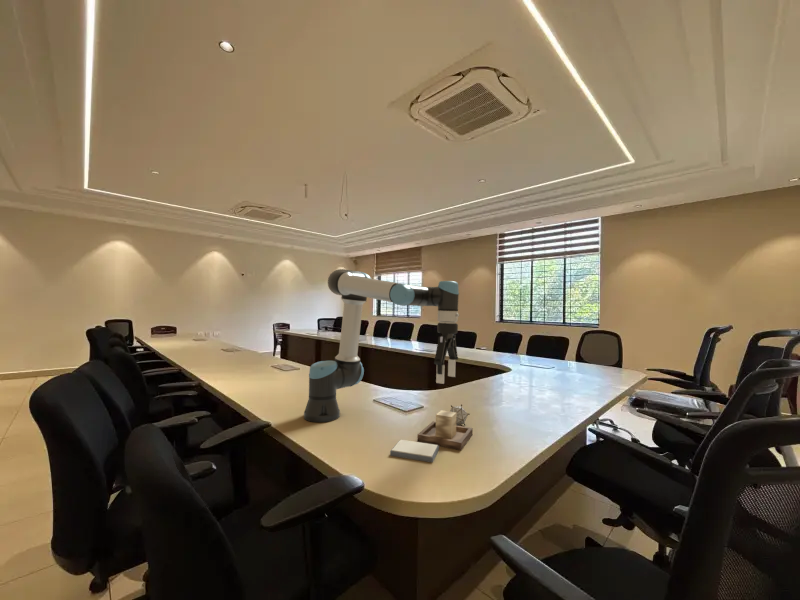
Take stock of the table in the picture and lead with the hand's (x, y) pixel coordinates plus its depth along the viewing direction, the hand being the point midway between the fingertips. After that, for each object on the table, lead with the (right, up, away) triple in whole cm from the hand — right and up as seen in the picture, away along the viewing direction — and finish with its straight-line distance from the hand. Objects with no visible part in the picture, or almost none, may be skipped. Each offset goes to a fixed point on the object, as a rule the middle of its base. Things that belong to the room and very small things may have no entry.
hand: (446, 379), depth 124 cm
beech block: (0, -20, -1) cm, 20 cm away
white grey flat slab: (-12, -21, -14) cm, 28 cm away
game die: (+7, -22, +14) cm, 27 cm away
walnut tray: (0, -21, -1) cm, 21 cm away
